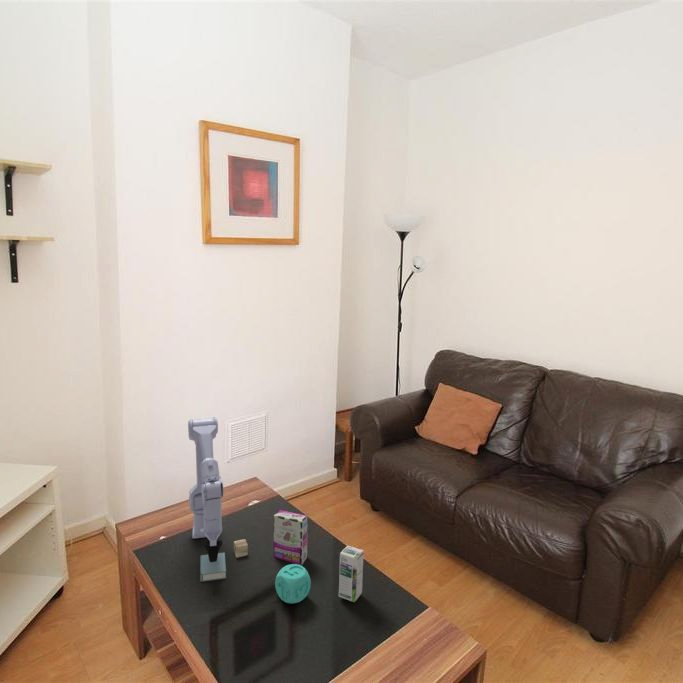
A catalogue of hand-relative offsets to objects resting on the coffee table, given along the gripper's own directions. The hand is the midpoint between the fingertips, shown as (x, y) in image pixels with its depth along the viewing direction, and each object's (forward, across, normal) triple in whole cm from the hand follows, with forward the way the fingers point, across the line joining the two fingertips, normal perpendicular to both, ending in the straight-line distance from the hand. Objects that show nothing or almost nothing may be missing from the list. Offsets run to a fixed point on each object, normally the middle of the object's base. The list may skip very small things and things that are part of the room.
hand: (213, 554), depth 161 cm
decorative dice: (+6, +19, +24) cm, 31 cm away
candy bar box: (+6, 0, +26) cm, 27 cm away
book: (+6, 0, 0) cm, 6 cm away
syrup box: (+6, +23, +41) cm, 47 cm away
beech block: (+6, -6, +10) cm, 13 cm away
